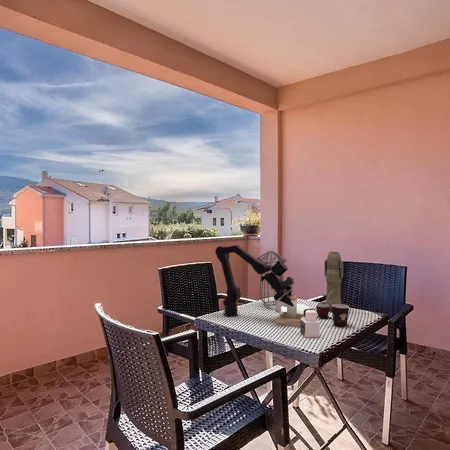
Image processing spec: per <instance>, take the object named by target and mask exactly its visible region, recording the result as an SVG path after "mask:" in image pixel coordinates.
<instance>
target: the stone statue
mask: <svg viewBox="0 0 450 450" xmlns="http://www.w3.org/2000/svg"><path fill="white" fill-rule="evenodd" d="M341 259H342V258H341V254H340V252H338V251H329V252H328V254H327V257H326V259H325V260H324V264H323V265H324V274H323V275H324V277H325V281H326V297H325V301H326V300H327V297H328V294H329V293H330V292H331V291H333V292H331V293H330V295H329V297H328V300H327V304H328V305H329V309H332V305H333V304H342V299H341V298H342V297H341V292H342V291H341V289H342V286H341V285H342V281H343V280H342V279H344V267H345V266H344V262H343V260H341ZM330 312H331V313H332V311H331V310H329V313H330ZM332 314H333V313H332Z"/></svg>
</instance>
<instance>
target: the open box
mask: <svg viewBox="0 0 450 450" xmlns="http://www.w3.org/2000/svg"><path fill="white" fill-rule="evenodd" d="M301 318H303V313H298V312H297V318H294V319H291V318H287V312H282V313H281V312H280V313H279V314H278V315H277V316H276V317H275V325H279V326H287V327H293V328H300V319H301Z"/></svg>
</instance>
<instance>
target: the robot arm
mask: <svg viewBox="0 0 450 450" xmlns="http://www.w3.org/2000/svg"><path fill="white" fill-rule="evenodd" d="M231 253H234V254H236V255H237V256H238V257H240V258H241V259H242V260H244V261H245V262H246V263H248V264H249V265H250V266H251V267H252V268H253V270H254V272H255V273H257V274H258V275H260V276H261V282H262V281H263V282H264V281H265V282H266V283H267V282H268V286H270V289H271V290H273V291H274V295H273V296H274V297H273V300H274V299H275V301H277V300H278V299H279V298H280V300H279V301H281V302H283V303H286V304H288V305H290V306H292V307H293V306H294V304H293V303H292V301H291V300H290V298H289V297H288V296H289V295H293V293H292V291H293V286H292V285H294V284H295V281H294V278H293V277H291V276H288V277H286V279H285V280H283V281H282V279H281V280H280V278H279V277H280V276H281V277H282V275H283V276H284V274H285V273H286V272H287V271H288V270H289V268H288V266H287V265H286V264H285V263H284V262H283V263H284V264H283V263H282V262H280V261H281V260H279V259H278V260H276V261H277V262H276V261H275V264H274V265H273V266H272V265H271V266H270V265H269V264H266V263H264V262H262V261H263V260H262V261H260V260H261V259H260V260H257V258H255V257H254V256H253V255H251V253H249V252H247V251H246V250H245V249H244V248H242V247H241V246H240V245H239V244H234V245H231V246H227V245H221V246H217V247H216V248H215V252H214V254H215V255H216V257H217V259H218V261H219V262H220V263H221V267H222V272H223V276H224V279H225V284H226V298H225V299H224V300H223V301H222V304H223V306H224V309H223V315H224V316H226V317H227V318H229V317H230V318H231V317H238V316H239V315H238V306H237V305H238V301H240V299H241V297H242V296H241V295H242V292H241V288H240V287H237V285H236V283H235V280H234V275H233V272H232V268H231V267H232V266H231V264H230V254H231ZM271 270H272V271H271ZM268 272H269V273H268ZM264 273H266V274H264ZM262 274H263V276H262ZM277 276H278V278H277Z"/></svg>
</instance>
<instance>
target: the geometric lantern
mask: <svg viewBox="0 0 450 450" xmlns="http://www.w3.org/2000/svg"><path fill="white" fill-rule="evenodd" d="M256 259H257V260H260V261H262V262H264V263H266V264H267V265H269V266H274V265H273V263H275V264H276V262H277V261H279V260H280V262H282V263H283V264H285V263H286V262H287V261H288V260H287V259H286V258H285V257H283V256H281V255H280V254H278V253H277V252H275V251H274V250H268V251H267V252H265V253H263V254H262V255H260V256H258V257H257V258H256ZM277 259H278V260H277ZM268 260H269V261H268ZM271 271H272V270H271ZM271 271H269V272H266V273H270V272H271ZM266 273H264V274H261V275H259V276H260V277H259V278H260V279H259V282H260V284H259V300H260V301H261V302H262V304H263V307H265V308H266V309H272V307H271V306H276V300H275V299H274V295H273V296H270V293H269V291H267V296H266V287H267V290H269V284H268V282H267V281H266V280H264V281H261V276H264V275H265V274H266ZM276 277H277V278H278V279H279V280H282V281H284V274H283V275H281V276H276ZM263 283H264V284H263ZM266 283H267V286H266ZM263 287H264V288H263ZM262 289H263V290H264V291H262ZM270 298H273V300H272V301H270ZM266 299H267V301H265V300H266ZM270 303H271V304H270Z"/></svg>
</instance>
